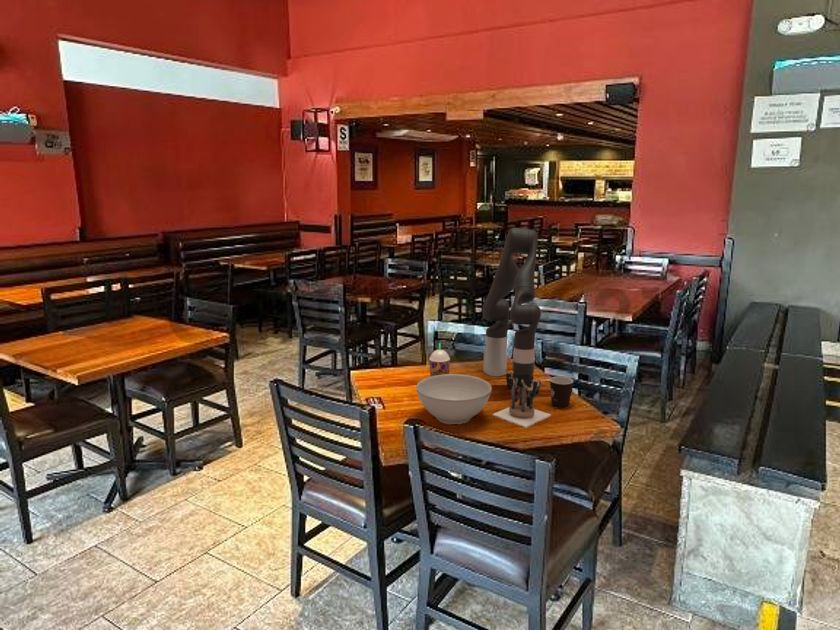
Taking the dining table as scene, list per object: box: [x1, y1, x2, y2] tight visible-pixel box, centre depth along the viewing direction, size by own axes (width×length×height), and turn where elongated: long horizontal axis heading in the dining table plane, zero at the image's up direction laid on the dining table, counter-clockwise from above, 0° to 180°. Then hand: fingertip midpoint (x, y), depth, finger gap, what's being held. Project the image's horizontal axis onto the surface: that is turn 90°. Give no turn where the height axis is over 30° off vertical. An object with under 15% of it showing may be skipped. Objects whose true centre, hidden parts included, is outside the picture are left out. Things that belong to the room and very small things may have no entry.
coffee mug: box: [549, 376, 574, 409], centre depth 227 cm, size 12×9×10 cm
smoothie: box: [429, 342, 451, 377], centre depth 240 cm, size 8×8×20 cm
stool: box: [509, 387, 536, 417], centre depth 215 cm, size 9×9×10 cm
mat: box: [491, 406, 552, 429], centre depth 216 cm, size 15×15×1 cm
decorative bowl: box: [415, 373, 493, 425], centre depth 214 cm, size 27×27×12 cm
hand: (522, 403), depth 215 cm, fingers closed on stool, 5 cm apart
